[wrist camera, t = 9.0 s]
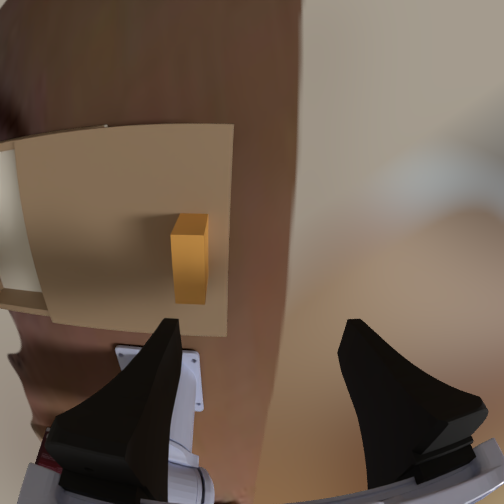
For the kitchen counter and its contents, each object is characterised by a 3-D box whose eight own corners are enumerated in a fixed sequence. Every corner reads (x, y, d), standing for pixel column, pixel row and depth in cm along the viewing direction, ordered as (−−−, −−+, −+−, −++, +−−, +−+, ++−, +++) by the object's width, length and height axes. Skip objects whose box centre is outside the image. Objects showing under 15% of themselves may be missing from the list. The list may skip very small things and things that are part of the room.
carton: (125, 301, 24) (115, 324, 21) (4, 289, 23) (-11, 306, 20) (107, 124, 18) (88, 128, 15) (-26, 147, 17) (-48, 155, 14)
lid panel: (226, 331, 22) (226, 367, 19) (55, 317, 21) (37, 347, 17) (233, 123, 16) (234, 128, 12) (19, 139, 14) (-16, 150, 11)
